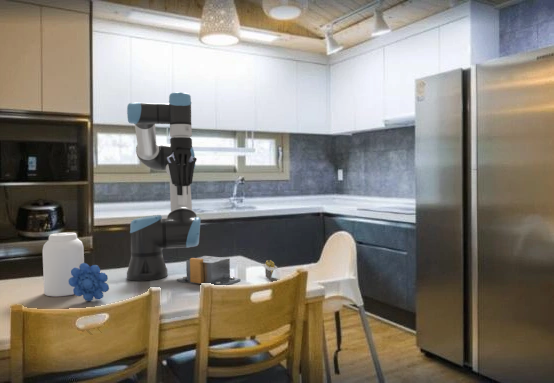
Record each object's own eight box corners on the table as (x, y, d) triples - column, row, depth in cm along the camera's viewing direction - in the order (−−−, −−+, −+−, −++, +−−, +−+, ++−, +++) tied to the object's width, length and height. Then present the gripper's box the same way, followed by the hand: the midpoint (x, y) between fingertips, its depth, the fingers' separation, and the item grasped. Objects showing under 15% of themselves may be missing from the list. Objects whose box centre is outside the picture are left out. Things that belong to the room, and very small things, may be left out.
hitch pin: (190, 281, 158) (189, 258, 158) (219, 273, 171) (218, 251, 171) (200, 283, 155) (200, 259, 155) (229, 274, 168) (228, 252, 168)
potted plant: (279, 273, 175) (279, 256, 175) (293, 283, 158) (292, 265, 157) (249, 275, 172) (249, 258, 172) (260, 286, 154) (260, 267, 154)
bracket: (176, 281, 163) (176, 259, 162) (199, 275, 173) (199, 254, 172) (218, 287, 152) (218, 264, 151) (240, 280, 162) (239, 258, 161)
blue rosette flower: (66, 306, 133) (64, 266, 132) (70, 300, 139) (69, 262, 139) (107, 303, 135) (106, 264, 135) (110, 297, 142) (109, 260, 142)
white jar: (82, 295, 145) (80, 234, 145) (40, 298, 142) (37, 236, 141) (87, 286, 157) (85, 230, 157) (48, 289, 154) (46, 232, 153)
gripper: (174, 135, 148) (176, 205, 149) (201, 138, 159) (203, 203, 160) (159, 137, 153) (161, 205, 153) (186, 139, 163) (188, 203, 164)
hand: (182, 204), depth 157 cm, fingers closed
